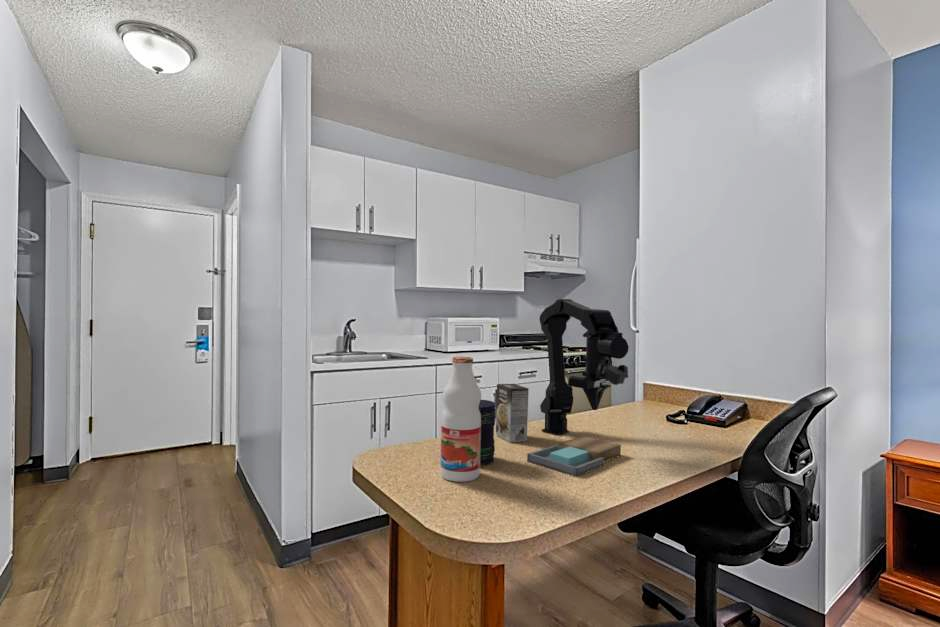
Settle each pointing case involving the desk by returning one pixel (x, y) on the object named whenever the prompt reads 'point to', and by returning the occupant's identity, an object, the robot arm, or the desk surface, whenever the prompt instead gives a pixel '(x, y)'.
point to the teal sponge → (569, 456)
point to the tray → (544, 460)
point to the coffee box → (512, 412)
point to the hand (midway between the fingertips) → (594, 409)
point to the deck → (594, 447)
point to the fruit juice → (461, 424)
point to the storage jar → (487, 431)
